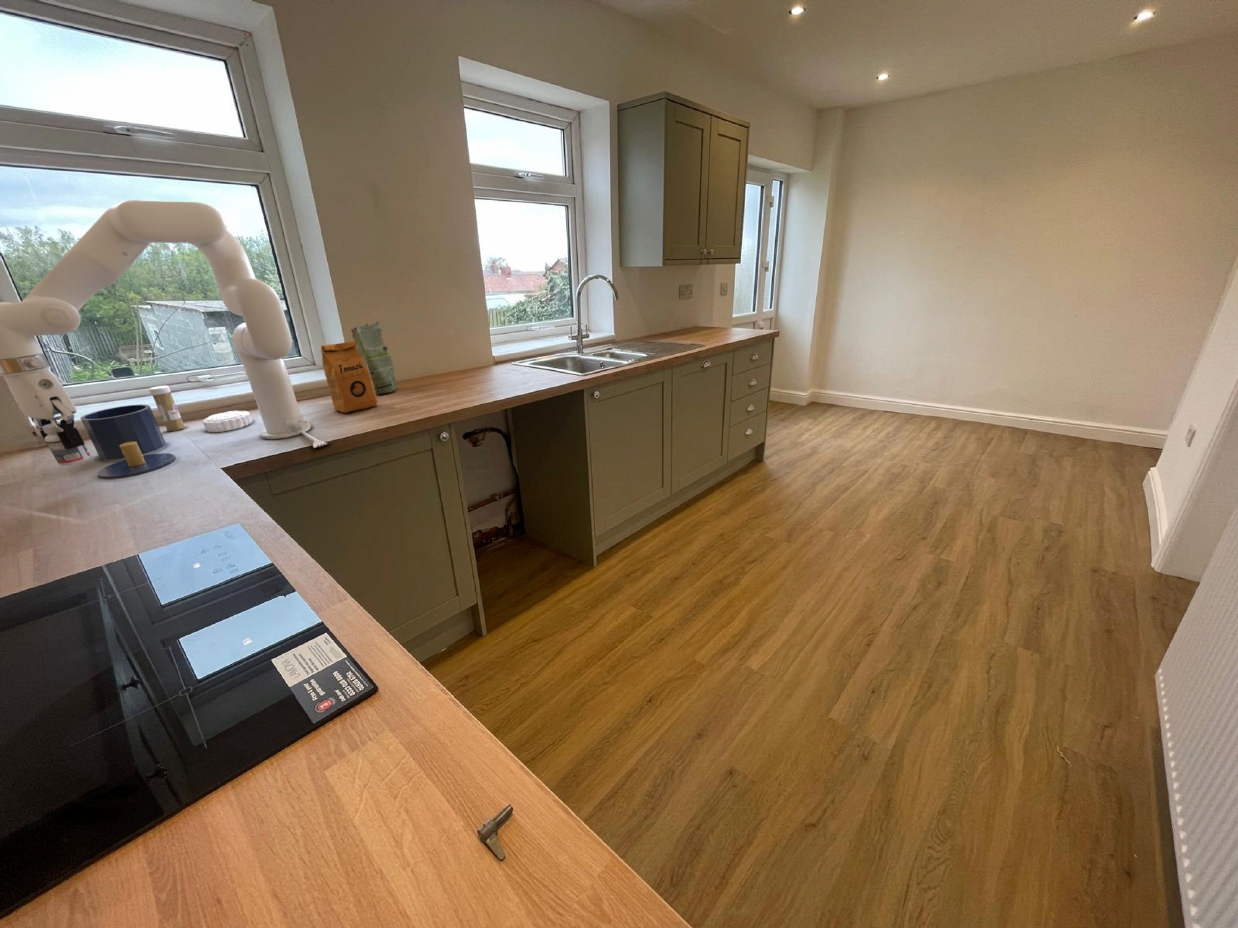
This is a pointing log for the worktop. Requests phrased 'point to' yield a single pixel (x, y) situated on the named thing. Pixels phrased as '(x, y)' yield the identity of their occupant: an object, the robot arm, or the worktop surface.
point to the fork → (314, 440)
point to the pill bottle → (59, 450)
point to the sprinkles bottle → (167, 408)
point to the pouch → (375, 357)
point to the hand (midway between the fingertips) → (66, 445)
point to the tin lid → (135, 462)
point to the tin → (123, 430)
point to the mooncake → (227, 421)
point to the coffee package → (347, 377)
